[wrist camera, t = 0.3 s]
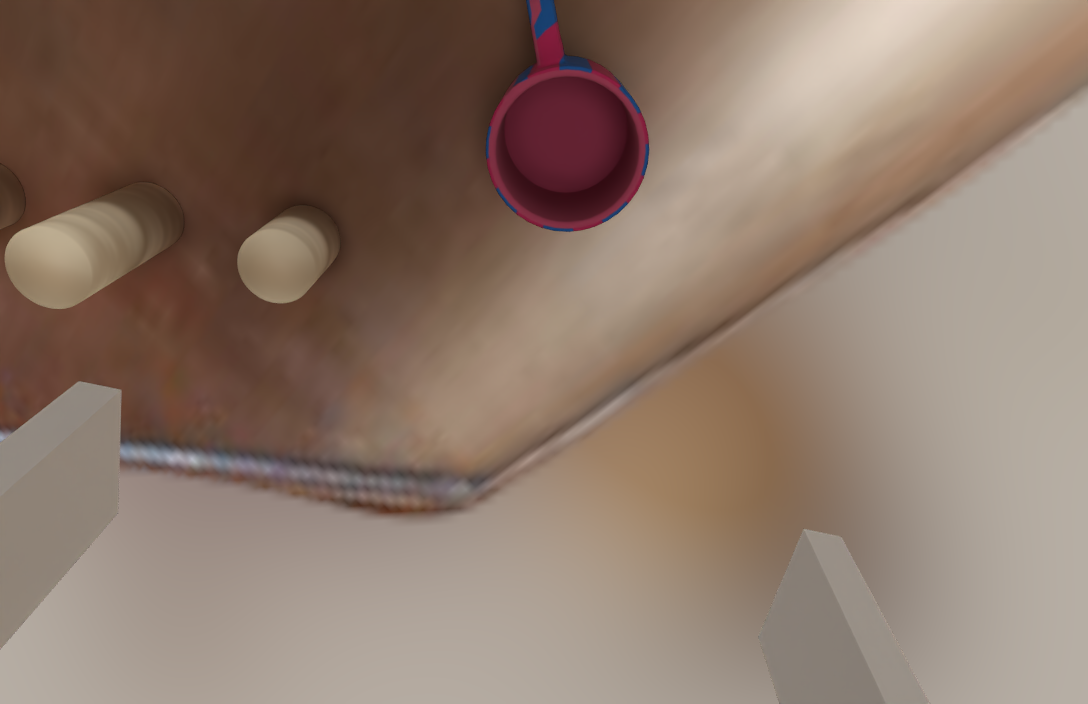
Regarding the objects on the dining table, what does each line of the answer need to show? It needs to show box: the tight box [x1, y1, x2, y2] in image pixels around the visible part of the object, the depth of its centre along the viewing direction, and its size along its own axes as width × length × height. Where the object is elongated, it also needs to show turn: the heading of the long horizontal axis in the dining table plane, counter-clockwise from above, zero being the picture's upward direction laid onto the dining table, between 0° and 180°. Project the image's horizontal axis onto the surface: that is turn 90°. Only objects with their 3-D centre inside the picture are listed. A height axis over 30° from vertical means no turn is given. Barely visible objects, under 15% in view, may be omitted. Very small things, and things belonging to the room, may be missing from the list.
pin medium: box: [5, 182, 184, 309], centre depth 37 cm, size 4×4×9 cm
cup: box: [486, 0, 649, 232], centre depth 36 cm, size 7×10×7 cm
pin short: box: [237, 205, 341, 303], centre depth 40 cm, size 4×4×5 cm
